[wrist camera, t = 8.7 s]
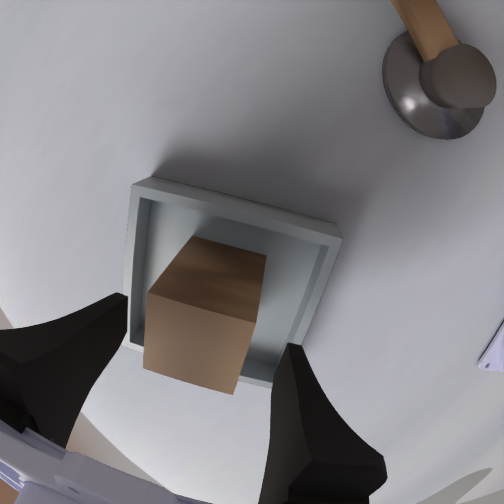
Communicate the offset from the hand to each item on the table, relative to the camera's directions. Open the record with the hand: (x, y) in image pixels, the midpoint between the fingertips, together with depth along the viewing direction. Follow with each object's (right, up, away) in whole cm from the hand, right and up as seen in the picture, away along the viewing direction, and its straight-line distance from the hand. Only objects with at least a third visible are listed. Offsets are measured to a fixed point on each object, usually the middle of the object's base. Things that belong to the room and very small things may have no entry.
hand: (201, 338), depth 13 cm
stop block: (+1, +2, +4) cm, 5 cm away
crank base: (+11, +12, -1) cm, 17 cm away
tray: (0, +2, +5) cm, 5 cm away
